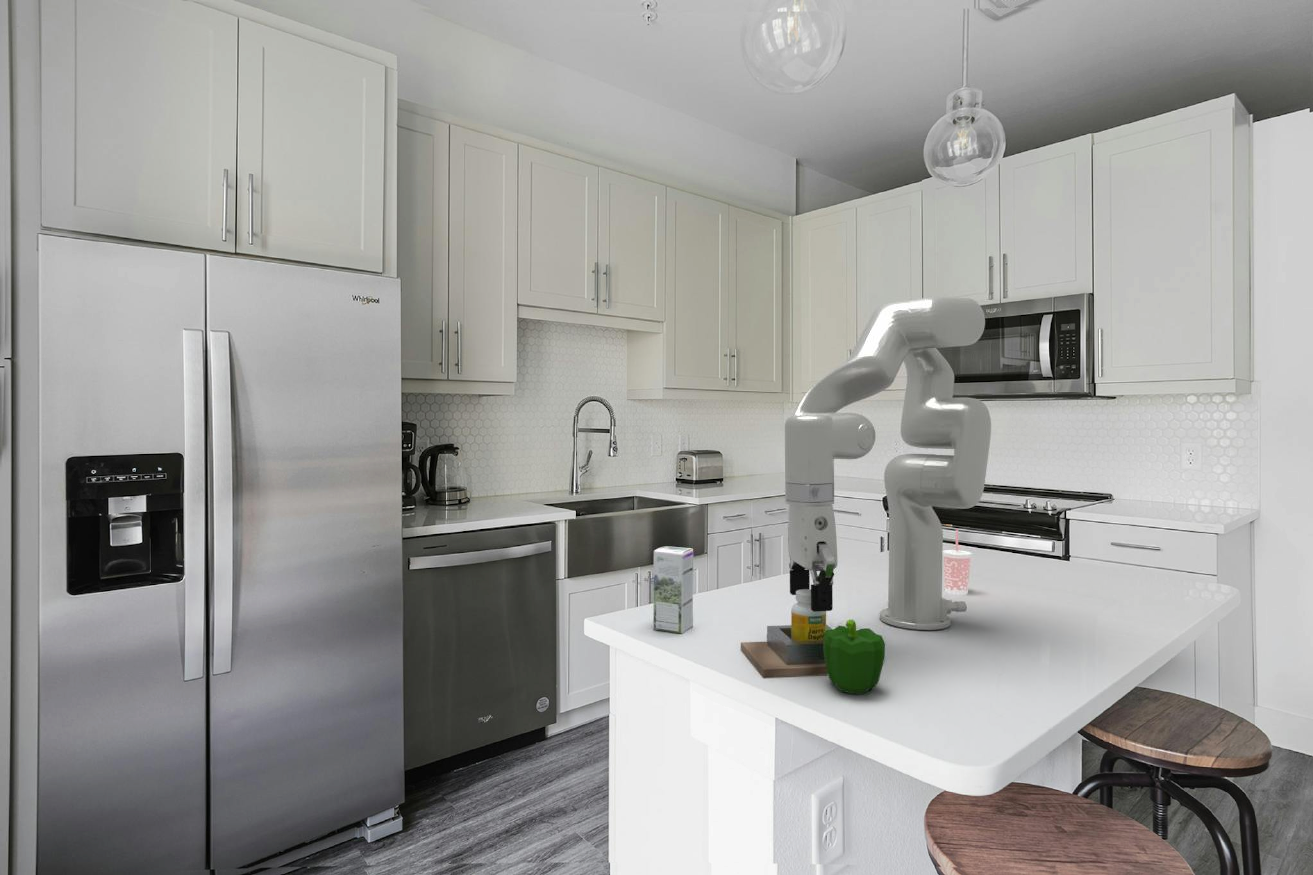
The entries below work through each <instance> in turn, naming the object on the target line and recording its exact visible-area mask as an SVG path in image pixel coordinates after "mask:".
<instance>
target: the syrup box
mask: <svg viewBox="0 0 1313 875" xmlns="http://www.w3.org/2000/svg"><path fill="white" fill-rule="evenodd" d="M693 594H694V549H693V548H691V547H681V546H680V547H677V546H667V545H665V546H661V547H657V548H656V549H654V550H653V630H654V631H661V632H667V633H668V632H670V633H676V634H683V633H685V632H686V631H688V630H690V629H691V628H692V627H693V625H694V608H693V607H694V601H693V600H694V598H693V596H694V595H693Z"/></svg>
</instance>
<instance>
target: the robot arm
mask: <svg viewBox="0 0 1313 875" xmlns="http://www.w3.org/2000/svg"><path fill="white" fill-rule="evenodd" d="M985 317H986V316H985V312H984V310H983V307H982V306H981V305H980V304H979V303H978V302H977V301H976V300H974V299H973V298H969V297H946V296H945V297H940V296H935V297H934V296H933V297H930V296H929V297H923V298H915V299H914V298H913V299H909V300H900V301H899V300H898V301H892V302H889V303H885V304H882V305H880V306H879V307H878V308H876V309H875V310H874V311H873V313H872V314H871V316H870V318H869V320H868V321H867V323H866V325H865V327H864V328H863V331H862V333H861V334H860V337H859V338H858V340H857V342H856V344H855V346H854V347H853V348H852V352H851V354H850V356H849V357H848V359H847V360H846V361H845V362H843V363H842V364H840V365H839V366H837V367H836V368H835V369H833V370H832V371H830V372H829V373H828V374H826V375H825V376H824V377H822V378H821V379H820V380H818V382H816V383H814V385H812V386H811V388H810V389H808V391H807V392H806V393H805V394H804V395H803V397H802V398H801V400H800V402H799V404H798V405H797V407H796V409H795V411H794V413H793V414H792V415H791V416H789V417H787V419H786V420H785V423H784V500H785V501H784V503H785V504H787V505H789V506H788V518H787V519H788V520H787V551H788V557H789V563H788V565H789V567H788V568H789V594H790V595H791V596H796V591H797V590H802V589H810V590H811V610H812V611H814V612H819V611H826V612H830V611H832V610H833V585H834V576H835V572H834V570H835V569H836V568H837V567H838V546H837V545H838V544H837V529H836V518H835V511H834V504H835V460H857V459H860V458H861V459H862V458H863V457H865V456H866V455H867V454H869V453H870V452H871V451H872V449H873V448H874V446H875V442H876V430H875V426H874V424H873V423H872V422H871V420H869V419H868V418H867V416H864V415H862V414H859V413H856V412H839V411H841V410H842V409H844V408H845V407H847V406H849V405H852V404H854V403H857V402H859V401H863V400H865V399H868V398H870V397H872V396H874V395H877V394H880V393H881V392H884V391H885V390H887V389H888V388H889V387H891V386H892V384H893V383H894V381H895V380H896V377H897V375H898V373H899V371H900V369H901V367H902V364H903V363H904V365H905V370H906V386H905V393H904V400H903V406H902V412H901V413H902V414H901V422H900V436H901V439H902V441H903V442H904V444H907V445H909V446H911V447H914V448H919V449H933V450H934V449H939V450H942V449H943V450H945V449H946V450H953V451H954V452H953V455H952V454H951V455H949V454H933V453H931V454H930V453H906V454H905V453H904V454H899V455H897V456H895V457H893V458H892V459H890V461H889V462H888V463H887V464H886V466H885V469H884V475H883V478H884V479H883V480H884V482H883V483H884V488H885V493H886V494H885V495H886V500H887V505H888V506H887V507H888V508H887V509H888V518H889V519H888V520H889V521H888V525H889V528H888V535H889V536H888V600H887V606H888V607H886V608H883V609H881V610H880V611H879V619H880V620H881V621H882V622H884V623H886V624H888V625H890V626H894V627H898V628H903V629H907V630H908V629H909V630H910V629H911V630H918V631H934V630H935V631H936V630H942V629H946V628H948V627H950V626H951V625H952V622H951V620H952V619H951V617H950V616H949V615H950V614H951V613H952V612H955V613H959V612H960V613H963V612H964V613H965V612H967V609H968V607H967V603H966V602H965V601H962V600H960V601H957V600H956V601H953V600H952V599H946V598H944V597H943V558H944V557H943V551H944V550H943V549H944V548H943V547H944V546H943V545H944V542H943V541H944V531H943V526H942V523H941V521H940V519H939V517H938V515H937V513H936V512H935V510H934V509H933V507H935V508H937V507H939V508H946V509H947V508H948V509H949V508H950V509H961V510H962V509H963V510H964V509H966V510H967V509H970V508H973V507H975V506H977V505H978V503H979V502H980V500H981V499H982V497H983V493H984V490H985V483H986V476H987V467H988V460H989V454H990V453H989V452H990V451H989V450H990V447H991V446H990V444H991V438H992V419H991V414H990V411H989V408H988V407H987V405H986V404H985V403H984V402H983V401H982V400H980V399H977V398H974V397H953V396H954V386H955V385H954V384H955V373H954V370H953V369H952V367H951V365H950V363H949V362H948V360H946V358H945V357H944V356H943V355H942V353H941V352H940V351H939V350H938V349H942V348H951V347H953V348H954V347H967V346H971V345H974V344H975V343H977V341H979V340H980V339H981V337H982V335H983V334H984V331H985V327H986V319H985ZM818 572H819V573H818ZM810 576H811V579H810ZM810 580H812V583H813V584H811V581H810Z"/></svg>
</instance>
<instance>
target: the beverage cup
mask: <svg viewBox="0 0 1313 875" xmlns="http://www.w3.org/2000/svg"><path fill="white" fill-rule="evenodd" d="M942 558H943V570H944V571H943V572H944V590H945V591H944V592H945V593H946V594H949V595H955V596H956V595H957V596H965V595H968V592H969V579H970V568H971V567H970V566H971V558H972V552H971V551H968V550H967V551H966V550H960V549H959V529H955V549H945V550H943V557H942Z"/></svg>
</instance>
